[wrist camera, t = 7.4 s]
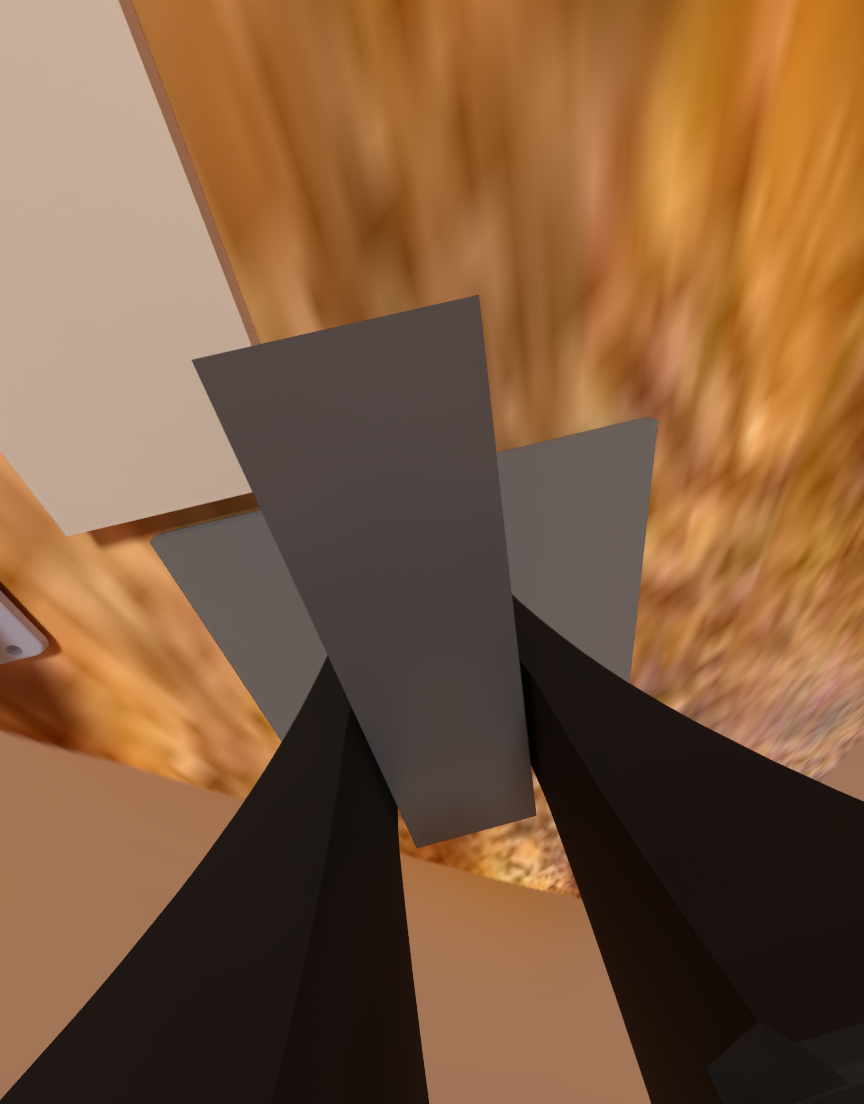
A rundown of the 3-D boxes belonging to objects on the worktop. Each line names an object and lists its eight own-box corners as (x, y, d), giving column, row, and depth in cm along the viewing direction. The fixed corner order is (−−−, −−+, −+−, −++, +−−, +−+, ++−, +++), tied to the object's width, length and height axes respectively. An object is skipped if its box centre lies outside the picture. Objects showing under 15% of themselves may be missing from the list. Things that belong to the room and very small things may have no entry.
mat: (303, 761, 22) (302, 772, 21) (157, 534, 14) (149, 542, 14) (622, 677, 23) (629, 685, 22) (647, 416, 15) (658, 419, 14)
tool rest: (85, 523, 14) (66, 536, 13) (-771, -632, 5) (-1009, -832, 4) (307, 471, 14) (303, 480, 13) (-139, -715, 5) (-237, -919, 4)
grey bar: (401, 756, 16) (418, 958, 11) (241, 357, 8) (40, 393, 3) (518, 725, 16) (590, 910, 11) (464, 306, 9) (616, 262, 3)
